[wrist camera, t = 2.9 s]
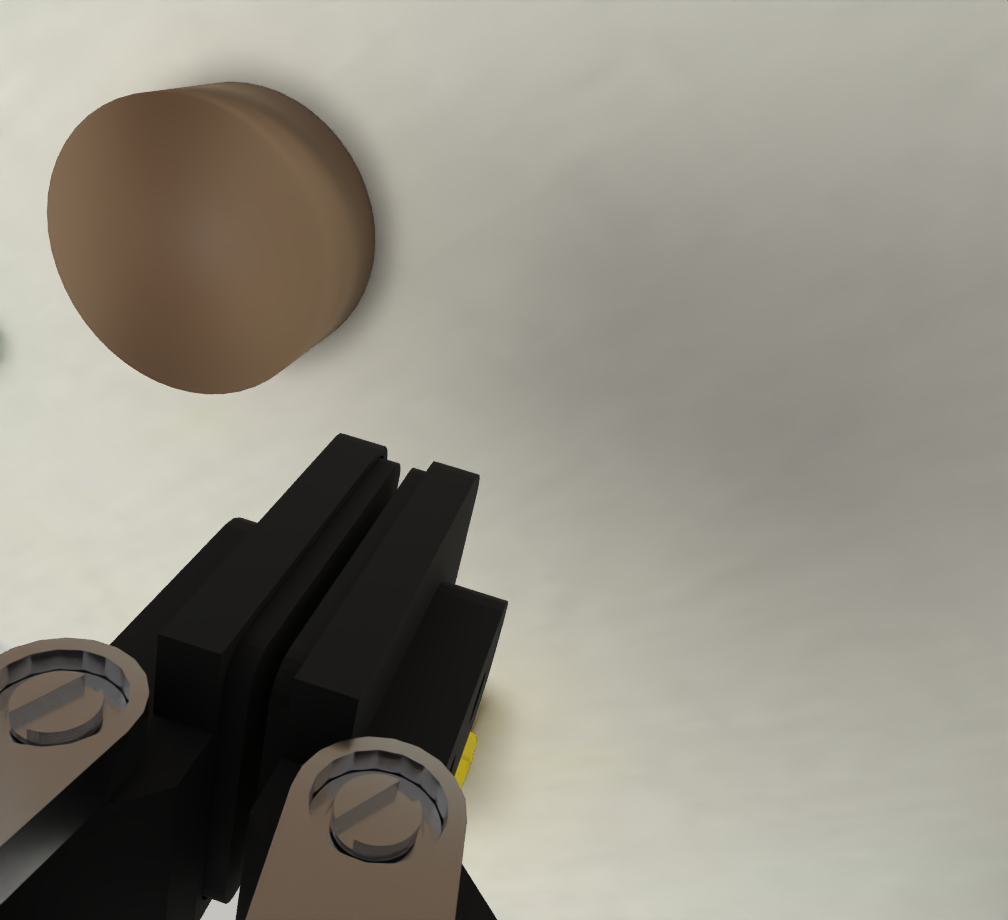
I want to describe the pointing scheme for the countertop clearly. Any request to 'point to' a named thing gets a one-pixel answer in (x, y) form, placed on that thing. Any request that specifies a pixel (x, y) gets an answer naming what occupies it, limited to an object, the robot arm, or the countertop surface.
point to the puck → (209, 232)
